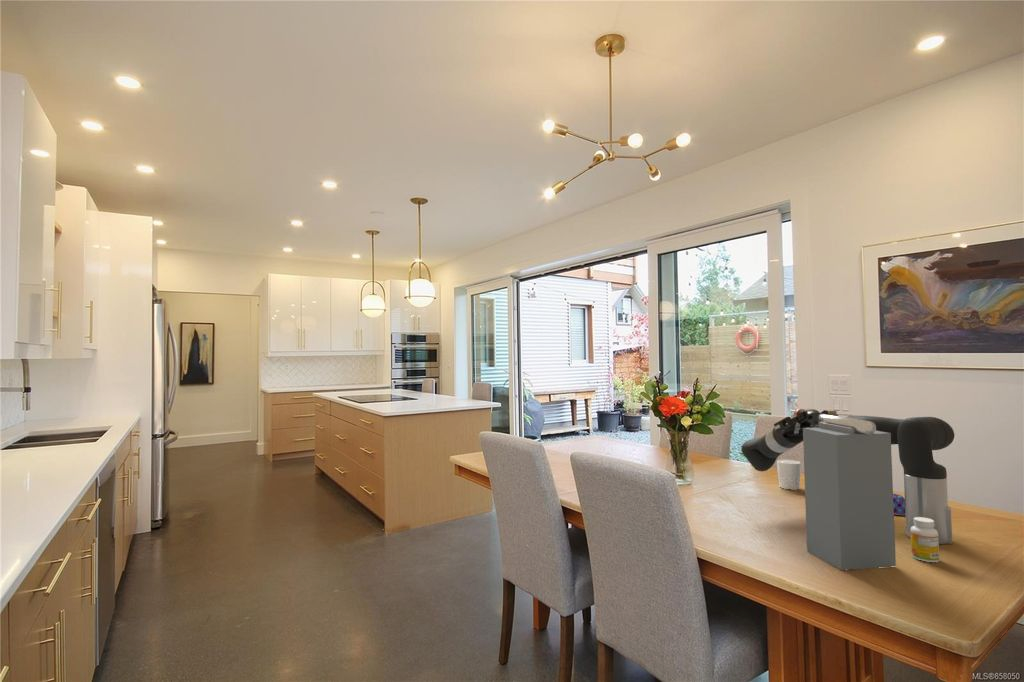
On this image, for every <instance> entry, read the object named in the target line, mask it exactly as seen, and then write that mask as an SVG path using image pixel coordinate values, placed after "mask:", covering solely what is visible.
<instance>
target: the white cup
mask: <svg viewBox="0 0 1024 682" xmlns="http://www.w3.org/2000/svg"><path fill="white" fill-rule="evenodd" d="M776 468H777V478H778V486H779V488H780V487H781V488H780V489H782V488H784V489H783V490H786V489H791V490H790V491H798V490H797V489H799V490H800V485H801V484H800V483H801V461H798V460H793V459H778V460H777V459H776Z"/></svg>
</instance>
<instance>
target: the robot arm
mask: <svg viewBox="0 0 1024 682" xmlns="http://www.w3.org/2000/svg"><path fill="white" fill-rule="evenodd" d="M805 410H806V411H803V412H802V413H800V414H799V415H797V416H794V414H793V415H792V416H791V417H790V416H786V417H784V418H782V419H781V420H779V421H777V422H775V423H773V426H774V427H772V428H771V429H770V430H769V431H768V432H767V433H765V434H764V435H763V436H761V437H757V438H755V437H754V438H751V439H748V440H746V441H745V442H743V444H742V445H741V447H740V448H741V449H740V450H741V454H742V455H743V456H744V458H746V459H747V461H748V462H749V463H750V465H751V467H753V468H754V469H755V470H756V471H758V472H767V471H768V470H769V469H771V468H772V467H773V465H774V464H775V463H776V462H777V459H778V458H779V457H780V455H782V454H784V453H785V452H788V451H789V450H791V449H793V448H794V447H796V446H797V445H799V444H800V443H803V428H818V425H815V424H810V423H805V422H804V421H806V420H807V419H809V415H808V412H807V411H813V412H819V410H817V409H814V408H809V409H808V408H807V409H805ZM820 413H824V414H827V415H829V413H828V409H826V410H825V409H824V410H822V411H821V412H820ZM845 417H846V418H852V419H858V420H864V421H871V422H873V423H874V424H875V425H876V431H881V432H887V433H891V446H892V445H893V446H894V445H898V447H897V448H898V456H899V462H900V464H901V465H902V470H903V484H904V487H903V488H904V491H903V492H904V499H905V515H904V516H905V534H906V536H907V537H908V538H910V539H911V532H910V531H911V527H912V526H915V524H914V518H915V517H923V518H929V519H932V520H933V521H934V527H933V529H935V530H936V531H937V532H938V540H939V545H944V544H950V545H951V544H953V522H952V508H951V507H950V506H949V499H948V498H949V497H948V478H947V477H948V472H947V469H946V467H945V466H944V465H942V464H939V463H937V462H935V459H934V456H933V451H939V450H943V449H945V448H948V446H950V445H951V444H953V441H954V439H955V431H954V429H953V427H952V426H951V425H950V424H949V423H948V422H947V421H945V420H943V419H940V418H938V417H935V416H916V417H915V416H913V417H907V418H904V419H903V418H902V419H901V418H891V417H882V416H874V415H873V416H871V415H847V416H845Z"/></svg>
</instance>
